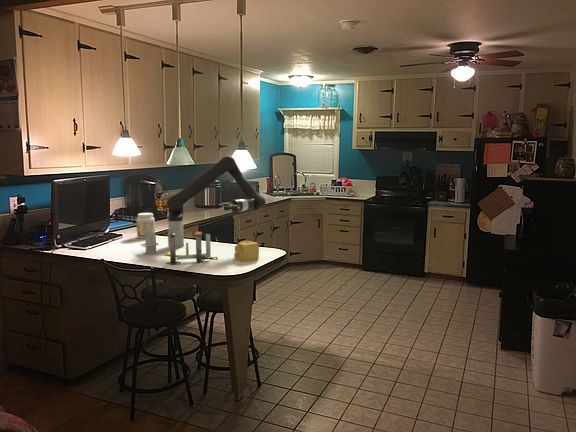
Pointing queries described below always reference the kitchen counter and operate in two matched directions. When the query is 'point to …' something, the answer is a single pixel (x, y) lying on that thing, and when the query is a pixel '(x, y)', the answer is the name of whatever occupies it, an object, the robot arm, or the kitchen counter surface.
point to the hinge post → (172, 250)
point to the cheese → (246, 251)
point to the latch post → (198, 247)
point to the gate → (187, 256)
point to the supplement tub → (145, 225)
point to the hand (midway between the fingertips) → (219, 207)
